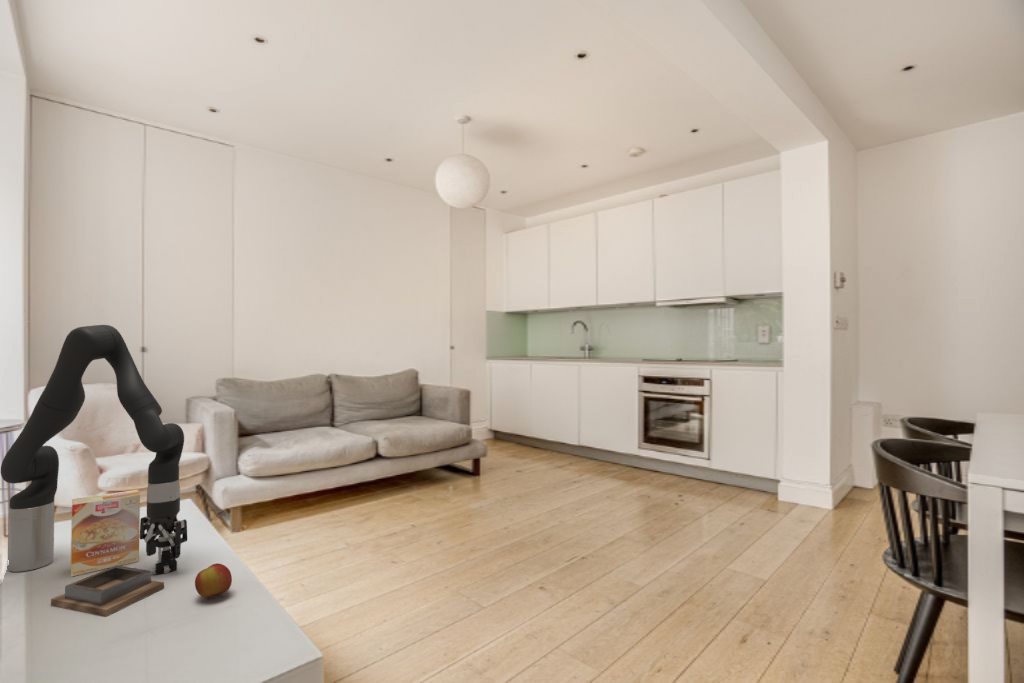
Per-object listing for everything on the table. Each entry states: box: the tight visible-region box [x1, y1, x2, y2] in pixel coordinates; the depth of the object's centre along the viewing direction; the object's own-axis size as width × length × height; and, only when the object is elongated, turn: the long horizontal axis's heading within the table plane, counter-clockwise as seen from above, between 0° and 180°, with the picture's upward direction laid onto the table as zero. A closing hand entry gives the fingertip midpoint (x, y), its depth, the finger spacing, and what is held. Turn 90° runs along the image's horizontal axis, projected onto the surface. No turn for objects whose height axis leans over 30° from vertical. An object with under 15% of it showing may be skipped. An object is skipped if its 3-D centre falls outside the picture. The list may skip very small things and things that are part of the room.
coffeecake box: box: [70, 489, 141, 578], centre depth 142 cm, size 15×7×20 cm, turn 131°
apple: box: [194, 563, 233, 599], centre depth 123 cm, size 8×8×8 cm
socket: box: [64, 565, 152, 606], centre depth 124 cm, size 12×12×3 cm
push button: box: [147, 532, 178, 576], centre depth 137 cm, size 7×5×10 cm
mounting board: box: [50, 579, 165, 617], centre depth 123 cm, size 18×14×2 cm
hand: (163, 556), depth 137 cm, fingers open, 8 cm apart
